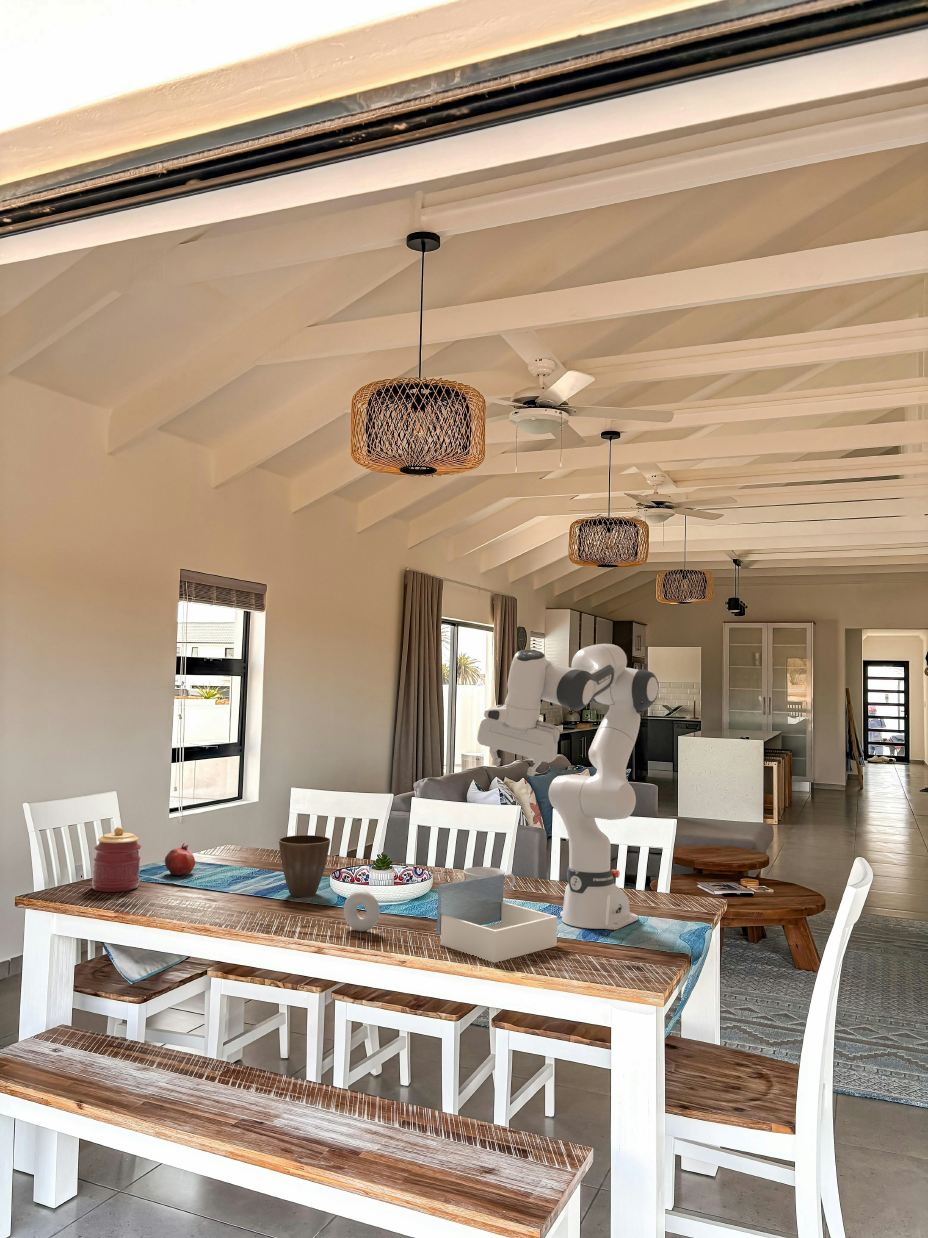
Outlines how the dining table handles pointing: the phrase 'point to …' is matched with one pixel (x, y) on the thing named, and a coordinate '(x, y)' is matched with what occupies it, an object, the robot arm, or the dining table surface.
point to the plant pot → (303, 862)
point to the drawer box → (501, 934)
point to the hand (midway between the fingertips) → (513, 770)
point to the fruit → (180, 861)
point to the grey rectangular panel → (471, 900)
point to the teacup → (487, 874)
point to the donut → (371, 909)
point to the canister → (116, 862)
